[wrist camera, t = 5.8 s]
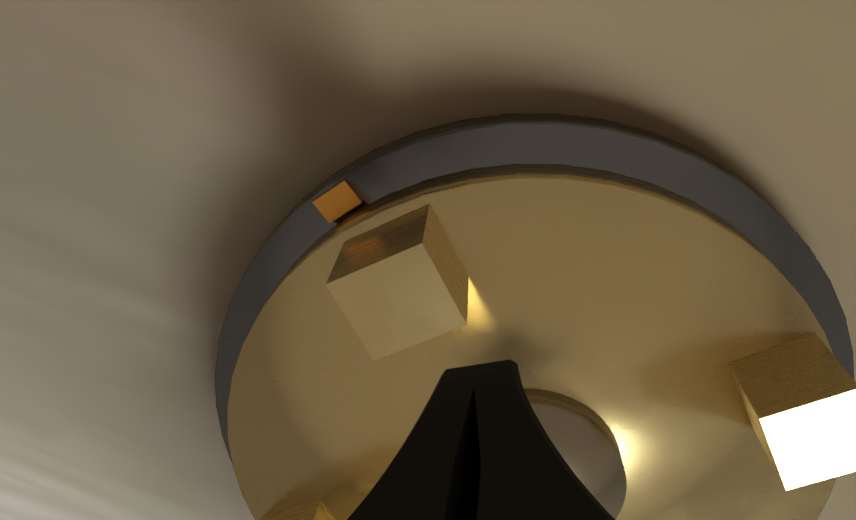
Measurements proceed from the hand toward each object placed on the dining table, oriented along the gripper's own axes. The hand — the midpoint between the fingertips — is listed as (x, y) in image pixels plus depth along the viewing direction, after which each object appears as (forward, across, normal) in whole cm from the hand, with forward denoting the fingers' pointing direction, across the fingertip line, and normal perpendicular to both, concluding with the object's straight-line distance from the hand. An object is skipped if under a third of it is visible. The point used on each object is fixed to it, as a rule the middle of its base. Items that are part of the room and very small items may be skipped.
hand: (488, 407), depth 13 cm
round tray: (+8, 0, +7) cm, 11 cm away
